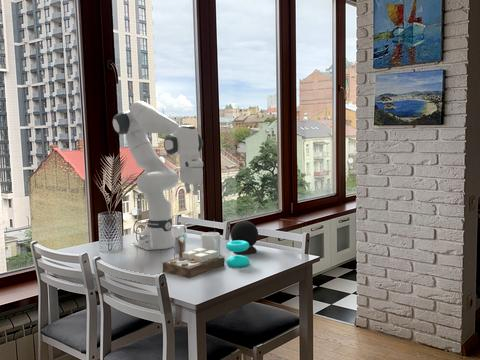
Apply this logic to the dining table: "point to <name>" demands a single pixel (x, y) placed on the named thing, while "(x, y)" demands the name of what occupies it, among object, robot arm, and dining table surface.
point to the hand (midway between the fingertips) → (191, 193)
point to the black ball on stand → (245, 235)
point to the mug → (211, 241)
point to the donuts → (237, 259)
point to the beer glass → (179, 240)
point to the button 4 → (212, 254)
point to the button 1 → (188, 255)
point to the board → (191, 266)
